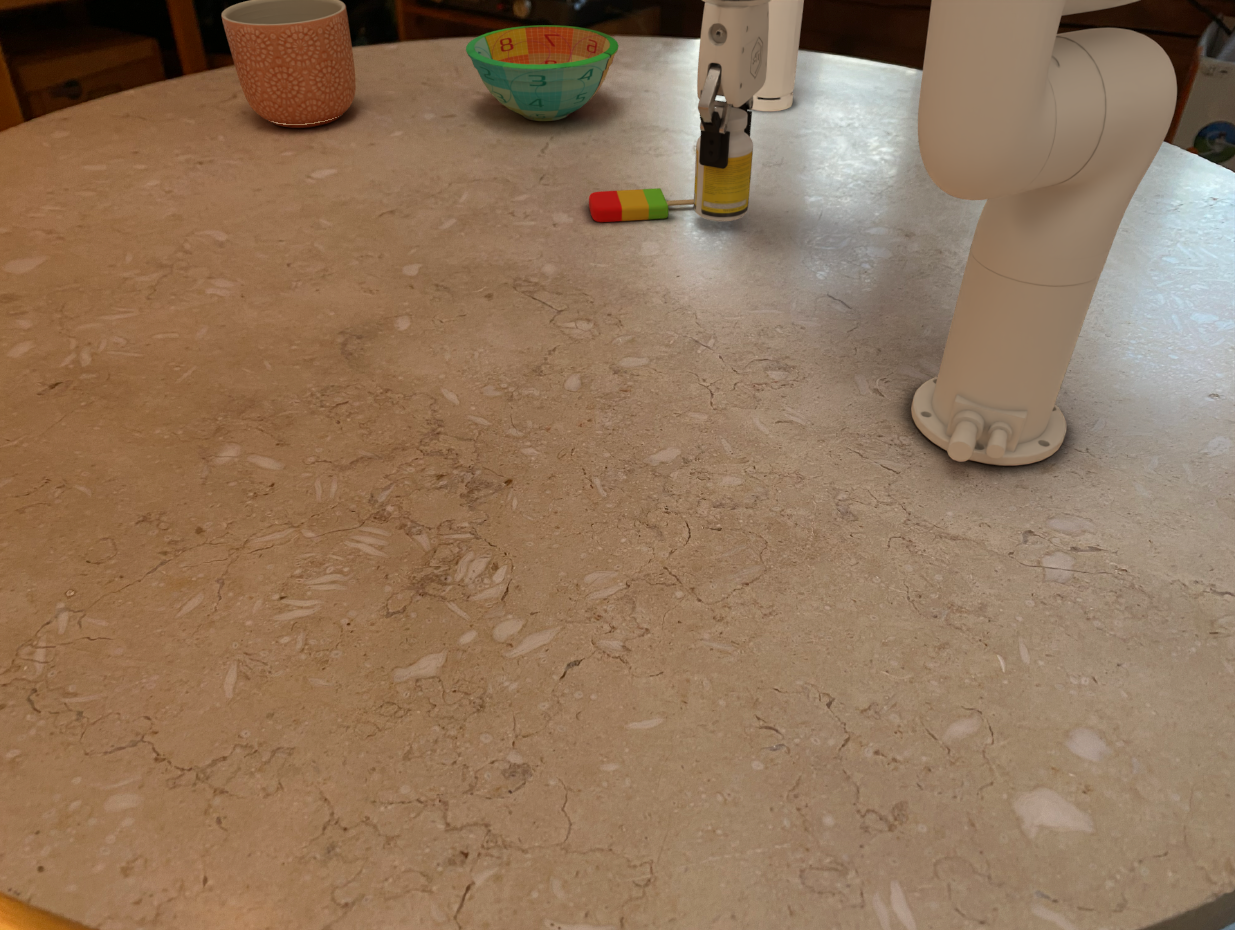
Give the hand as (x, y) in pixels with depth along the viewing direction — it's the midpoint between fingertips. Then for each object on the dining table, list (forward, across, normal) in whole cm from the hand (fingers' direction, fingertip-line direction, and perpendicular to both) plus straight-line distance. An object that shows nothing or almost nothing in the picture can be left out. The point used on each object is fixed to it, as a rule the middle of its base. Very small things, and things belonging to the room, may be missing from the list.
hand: (724, 153), depth 107 cm
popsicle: (+9, 0, +9) cm, 13 cm away
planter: (+9, +9, +70) cm, 71 cm away
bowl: (+9, +26, +38) cm, 47 cm away
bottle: (+9, +45, +9) cm, 47 cm away
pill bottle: (+7, 0, 0) cm, 7 cm away
